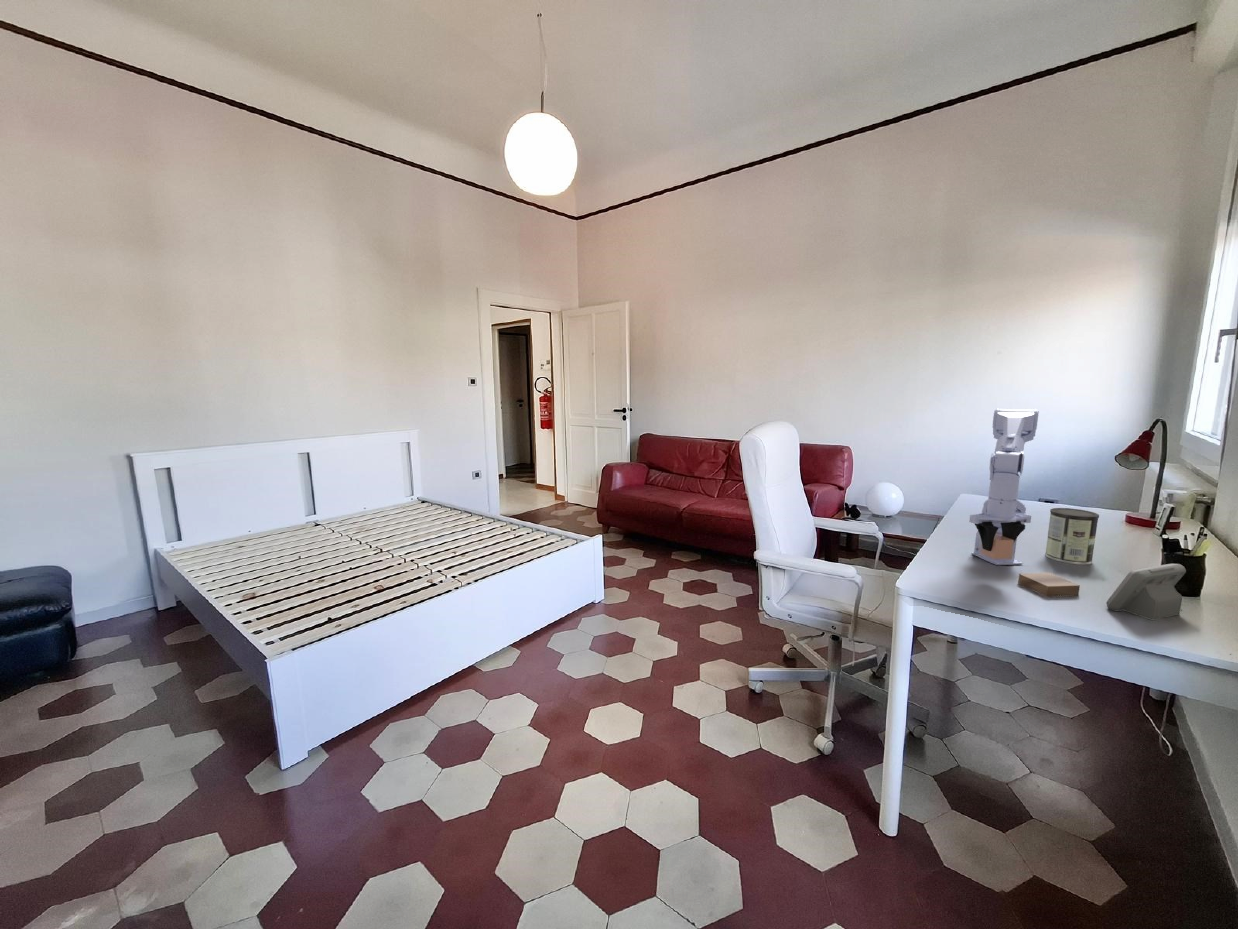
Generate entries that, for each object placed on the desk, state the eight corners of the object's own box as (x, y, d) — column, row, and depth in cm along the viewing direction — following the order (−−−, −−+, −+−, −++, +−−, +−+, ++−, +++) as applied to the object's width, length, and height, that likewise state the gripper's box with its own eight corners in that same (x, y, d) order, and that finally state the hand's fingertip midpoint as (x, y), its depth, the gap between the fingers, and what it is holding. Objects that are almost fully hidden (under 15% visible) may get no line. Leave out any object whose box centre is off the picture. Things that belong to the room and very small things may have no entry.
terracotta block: (980, 553, 127) (982, 534, 127) (997, 552, 128) (999, 534, 127) (994, 559, 123) (996, 540, 122) (1011, 558, 123) (1013, 540, 122)
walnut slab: (1018, 584, 124) (1019, 573, 124) (1048, 583, 125) (1049, 572, 124) (1046, 598, 116) (1047, 586, 116) (1078, 597, 117) (1079, 585, 116)
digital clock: (1153, 600, 114) (1160, 557, 112) (1201, 618, 105) (1210, 571, 103) (1089, 603, 113) (1096, 559, 111) (1133, 621, 104) (1141, 574, 102)
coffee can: (1068, 552, 146) (1075, 507, 144) (1102, 564, 136) (1110, 516, 134) (1034, 552, 146) (1040, 507, 144) (1066, 565, 136) (1073, 517, 134)
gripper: (986, 502, 119) (980, 555, 121) (1044, 501, 119) (1037, 554, 121) (965, 496, 126) (960, 546, 128) (1020, 495, 126) (1014, 545, 128)
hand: (996, 549), depth 125 cm, fingers closed on terracotta block, 4 cm apart
